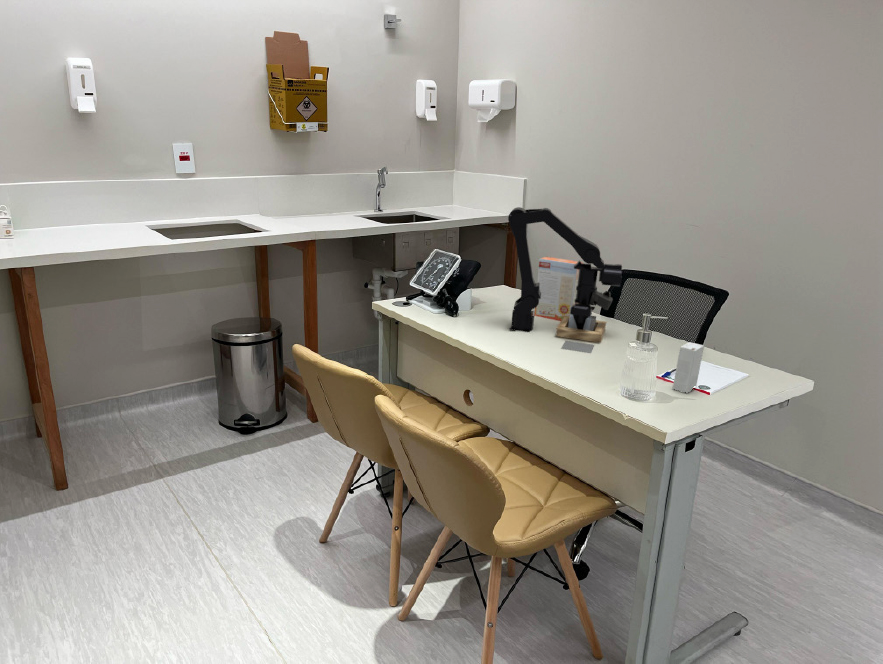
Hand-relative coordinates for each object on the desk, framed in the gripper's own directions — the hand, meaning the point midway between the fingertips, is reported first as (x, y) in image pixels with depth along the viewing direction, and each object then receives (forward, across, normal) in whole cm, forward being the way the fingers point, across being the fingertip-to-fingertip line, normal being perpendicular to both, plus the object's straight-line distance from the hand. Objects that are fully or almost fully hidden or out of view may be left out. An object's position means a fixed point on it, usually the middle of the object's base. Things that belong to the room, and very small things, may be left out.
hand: (581, 330), depth 223 cm
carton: (+2, 0, 0) cm, 2 cm away
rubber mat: (+2, -14, -1) cm, 14 cm away
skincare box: (+2, -36, -32) cm, 48 cm away
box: (+1, 0, 0) cm, 1 cm away
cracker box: (+2, +16, +11) cm, 20 cm away
